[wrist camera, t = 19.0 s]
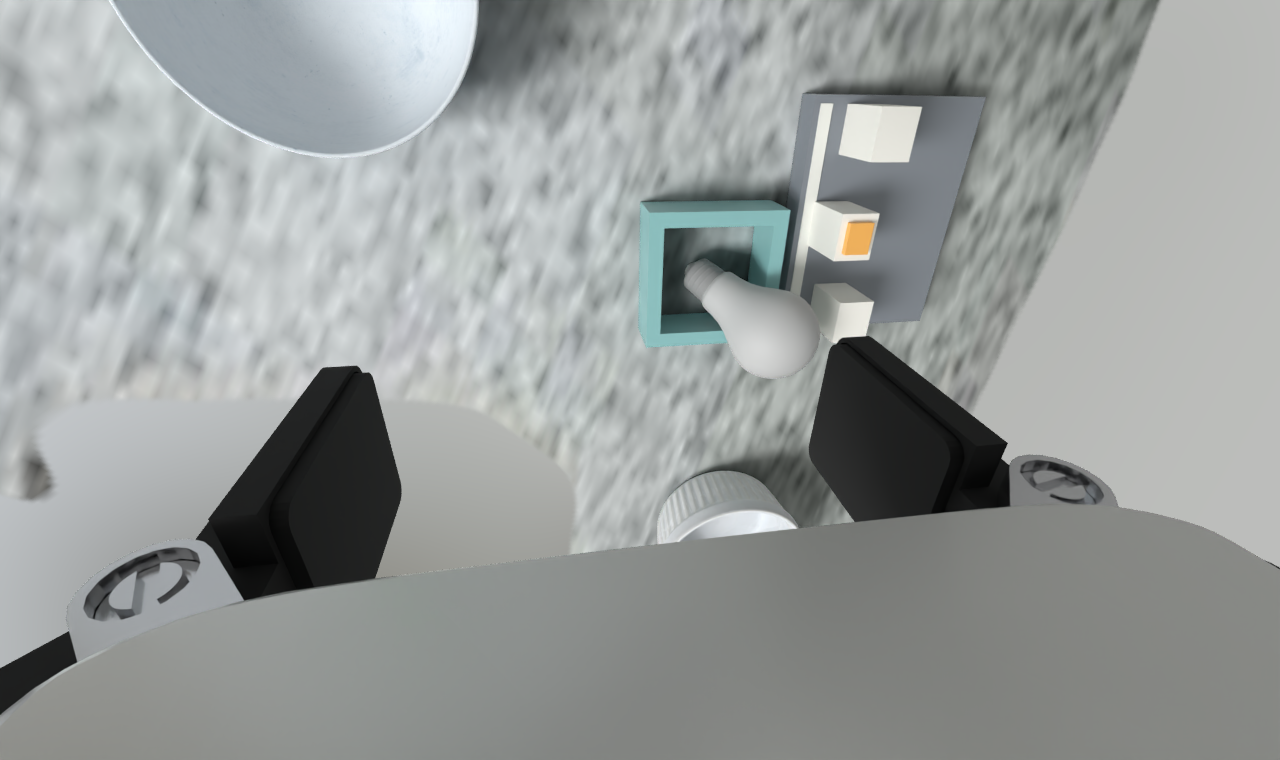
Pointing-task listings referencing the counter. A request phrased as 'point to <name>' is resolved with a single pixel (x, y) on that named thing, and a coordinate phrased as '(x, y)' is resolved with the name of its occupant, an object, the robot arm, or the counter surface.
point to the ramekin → (720, 509)
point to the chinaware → (312, 65)
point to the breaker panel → (876, 200)
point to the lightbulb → (757, 320)
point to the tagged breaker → (842, 230)
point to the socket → (698, 214)
